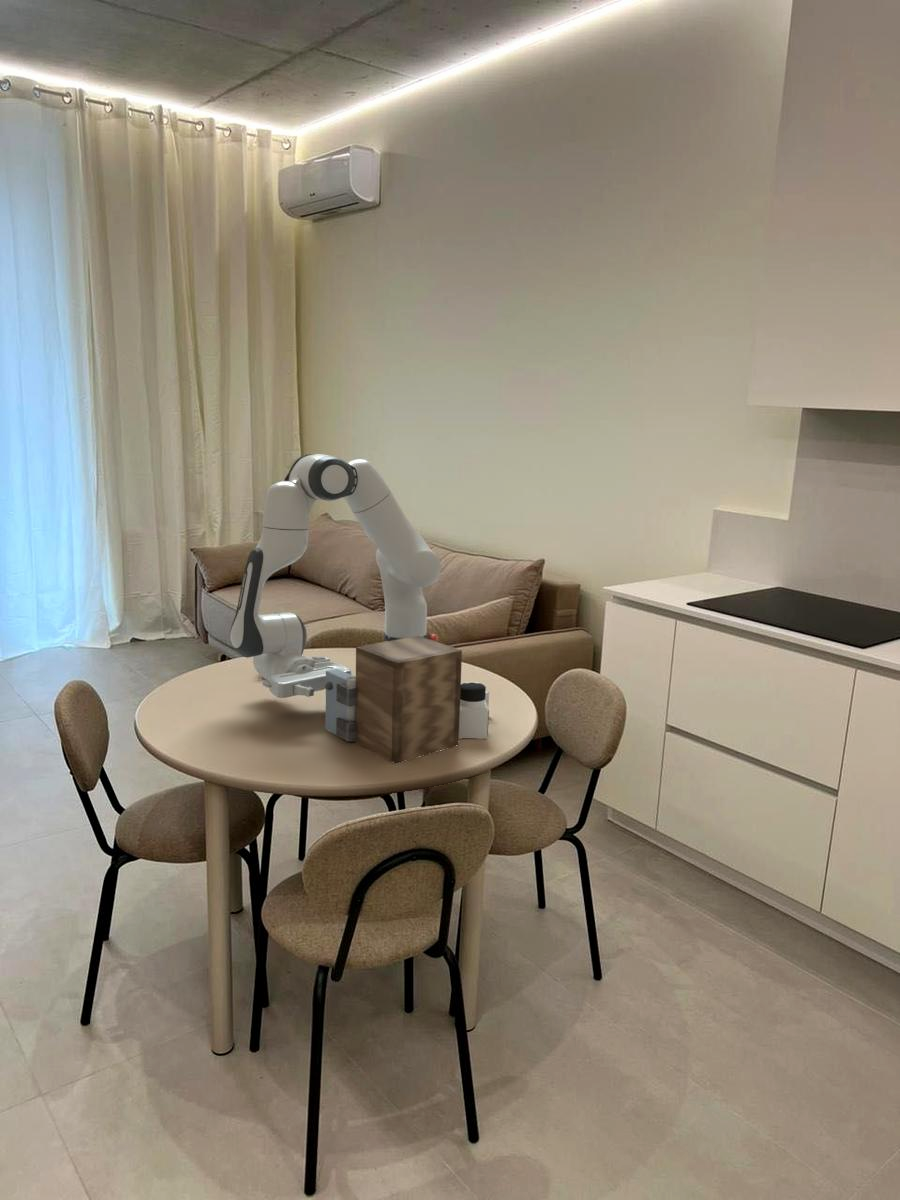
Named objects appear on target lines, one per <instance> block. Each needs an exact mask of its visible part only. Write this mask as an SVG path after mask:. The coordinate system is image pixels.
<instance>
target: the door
mask: <svg viewBox="0 0 900 1200" xmlns="http://www.w3.org/2000/svg"><path fill="white" fill-rule="evenodd" d="M338 683H340V684H343V685H345V686H347V687H349V688H351V687H356V675H355V676H354V675H352V674H351V675H350V674H348V673H345V672H343V671H341V670H339V669H333V670H328V671H326V684H325V688H326V689H325V730H326V731H328V732H330V733H332V734H334V735H336V718H339V717H340V718H342V719H344V720H346V721H348V722H353V721H355V706H350V707H348V706H346V705H344V704H342V703H340V702H338V701H336V699H337V684H338ZM351 742H355V740H352V741H351Z"/></svg>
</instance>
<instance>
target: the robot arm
mask: <svg viewBox="0 0 900 1200" xmlns="http://www.w3.org/2000/svg"><path fill="white" fill-rule="evenodd" d="M285 476H286V477H285V478H284V479H283V480H281V481H278V482H275V483H273V484H272V485H271V486H270V487H269V488H268V490H267V493H266V497H265V503H264V506H263V515H262V516H263V517H262V529H261V530H262V531H261V534H260V538H259V540H258V543H257V545H256V547H255V548H254V549H252V550H251V551H250V552H249V553H248V555H247V559H246V562H245V566H244V570H243V575H242V576H243V577H242V579H241V580H242V581H241V585H240V591H239V595H238V601H237V602H238V603H237V606H236V611H235V615H234V618H233V621H232V624H231V627H230V631H229V642H230V645H231V647H232V648H233V649H234V650H235V651H236V652H237V653H238V654H240V655H241V656H242V657H244V658H248V659H249V658H252V665H253V667H254V669H255V670H256V672H257V673H258V674H259V676H261V677H262V678H264V679H265V680H264V681H262V682H261V683H262V686H263V687H266V688H267V689H268V688H269V689H268V690H269V692H270V693H271V694H272V695H274V696H275V697H276V698H280V699H287V698H290V697H295V696H305V697H307V698H309V697H313V696H315V692H318V691H323V690H326V688H325V684H326V671H328V670H333V669H339V670H341V671H343V672H345V673H348V674H350V675H352V670H351V668H349V667H348V666H345V665H343V664H341V663H340V662H336V661H331V658H330V657H328V656H327V657H326V656H306V655H305V656H304V655H303V654H304V651H305V649H306V643H307V640H308V639H307V636H308V635H307V629H306V626H305V624H304V622H303V621H302V619H301V618H300V617H299V615H297V613H295V612H292V611H291V612H277V613H269V614H260V609H261V603H262V597H263V592H264V587H265V583H266V582H267V580H268V579H269V578H270V577H271V576H272V575H273V574H274V573H276V572H277V571H279V570H282V569H284V568H286V567H288V566H290V565H292V564H294V563H296V562H297V561H298V560H299V559H301V558H302V556H303V555H304V553H306V551H307V548H308V544H309V529H310V527H309V526H310V523H309V522H310V519H309V518H310V512H311V509H312V506H313V505H314V503H315V502H316V501H321V500H322V501H328V502H330V501H337V500H339V499H342V498H343V499H344V500H345V502H346V503H347V504H348V507H349V508H350V510H351V512H352V514H353V515H354V518H356V520H357V522H358V524H359V525H360V527H361V528H362V530H363V531H364V533H365V535H366V537H367V538H368V539H369V540H370V541H371V543H373V544H374V545H375V547H376V548H377V549H376V551H375V561H376V565H377V567H378V569H379V574H380V578H381V587H382V593H383V597H384V616H385V617H384V632H383V635H382V638H383V639H382V642H387V641H392V640H398V639H403V638H409V637H415V636H421V637H424V638H427V639H430V640H433V641H436V642H438V641H439V639H440V638H439V635H438V634H434V633H431V634H430V633H428V632H427V627H428V626H427V625H428V624H427V621H428V619H427V617H428V606H427V601H426V599H425V597H424V594H423V593H424V592H423V588H426V587H430V586H432V585H433V584H434V583H435V582H436V581H437V580H438V579H439V577H440V575H441V571H442V564H441V561H440V559H439V557H438V555H437V554H436V553H435V551H433V550H432V549H431V548H430V546H429V545H428V544H427V542H426V541H425V540H424V538H423V536H422V535H421V534H420V533H419V531H418V530H417V529H416V527H414V525H413V524H412V522H411V521H410V520H409V519H408V517H407V516H406V514H405V513H404V511H403V510H402V508H401V506H400V505H399V503H398V501H397V499H396V498H395V496H394V494H393V492H392V491H391V489H390V487H389V486H388V484H387V483H386V481H385V479H384V478H383V477H382V475H381V473H379V472H378V470H377V469H376V468H375V466H374V465H373V464H372V463H371V462H370V461H369V460H367V459H365V458H355V459H352V460H350V461H348V462H346V461H345V460H343V459H342V458H340V457H337V456H333V455H328V454H325V453H324V454H323V453H316V454H311V453H310V454H305V455H302V456H300V457H299V458H297V459H295V461H294V462H293V464H292V465H291V466H290V469H289V471H288V473H287V475H285Z"/></svg>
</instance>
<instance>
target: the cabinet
mask: <svg viewBox="0 0 900 1200" xmlns="http://www.w3.org/2000/svg"><path fill="white" fill-rule="evenodd" d="M462 655H463V650H462V649H459V648H456V647H453V646H450V645H448V644H444V643H442V642H439V641H437V642H436V641H433V640H430V639H427V638H424V637H421V636H415V637H409V638H403V639H398V640H392V641H387V642H383V641H382V642H376V643H370V644H364V645H359V646H356V647H355V677H356V687H351V688H349V687H347V686H345V685H343V684H340V683H338V684H337V699H336V701H338V702H340V703H342V704H344V705H346V706H348V707H350V706H355V721H353V722H348V721H346V720H344V719H342V718H340V717H339V718H336V734H335V736H337V737H340V738H341V739H343V740H345V741H346V742H353V741H352V740H355V741H354V743H356V744H357V745H359V746H361V747H362V748H364V749H367V750H369V751H370V752H373V753H374V754H376V755H378V756H380V757H382V758H384V759H386V760H387V759H388V762H389V761H390V762H392V763H393V762H394V763H393V764H396V763H397V764H400V763H403V762H402V761H404V762H406V761H405V760H407V761H410V760H409V759H411V760H413V759H412V758H414V759H417V758H416V757H418V758H420V757H419V756H421V757H424V756H427V755H426V754H428V755H430V754H429V753H431V754H434V753H433V752H435V753H437V752H436V751H438V752H441V751H440V750H442V751H444V750H443V749H445V750H448V749H447V748H449V749H451V748H450V747H452V748H454V747H453V746H456V745H458V746H459V744H460V743H459V740H460V739H459V717H460V690H461V684H462V661H463V660H462V658H463V656H462ZM456 747H457V746H456ZM423 755H424V756H423ZM399 762H400V763H399Z"/></svg>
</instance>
